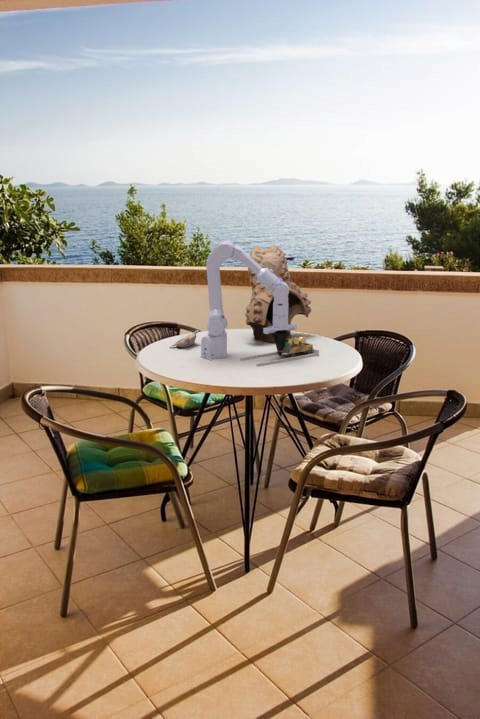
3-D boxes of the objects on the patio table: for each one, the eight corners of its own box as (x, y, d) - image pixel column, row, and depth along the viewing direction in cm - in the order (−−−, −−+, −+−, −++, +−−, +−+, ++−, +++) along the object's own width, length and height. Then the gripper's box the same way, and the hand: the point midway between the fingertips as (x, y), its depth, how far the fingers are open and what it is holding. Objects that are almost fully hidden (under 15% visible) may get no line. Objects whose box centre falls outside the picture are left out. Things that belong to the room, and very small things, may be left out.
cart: (289, 359, 248) (290, 343, 247) (275, 355, 255) (275, 339, 254) (313, 355, 255) (314, 340, 254) (299, 350, 262) (299, 336, 260)
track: (258, 368, 238) (258, 360, 237) (239, 361, 248) (239, 353, 247) (318, 357, 254) (318, 349, 254) (298, 351, 264) (298, 344, 263)
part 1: (287, 350, 250) (287, 340, 250) (282, 348, 253) (282, 338, 252) (293, 349, 252) (294, 339, 251) (288, 347, 255) (288, 337, 254)
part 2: (294, 349, 252) (294, 339, 251) (289, 347, 255) (289, 337, 254) (300, 348, 254) (300, 338, 253) (295, 346, 256) (295, 336, 256)
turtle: (191, 358, 266) (199, 335, 264) (169, 350, 264) (177, 327, 262) (191, 348, 281) (199, 326, 279) (170, 340, 279) (178, 319, 277)
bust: (287, 330, 304) (289, 242, 294) (315, 337, 291) (318, 244, 281) (229, 340, 282) (229, 245, 272) (256, 348, 269) (257, 248, 259)
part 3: (301, 348, 254) (301, 337, 253) (296, 346, 257) (296, 336, 256) (307, 347, 256) (307, 337, 255) (302, 345, 258) (302, 335, 257)
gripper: (271, 318, 240) (271, 354, 243) (302, 314, 248) (301, 349, 251) (260, 315, 245) (259, 351, 248) (290, 311, 253) (289, 346, 257)
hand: (279, 350), depth 250 cm, fingers closed
